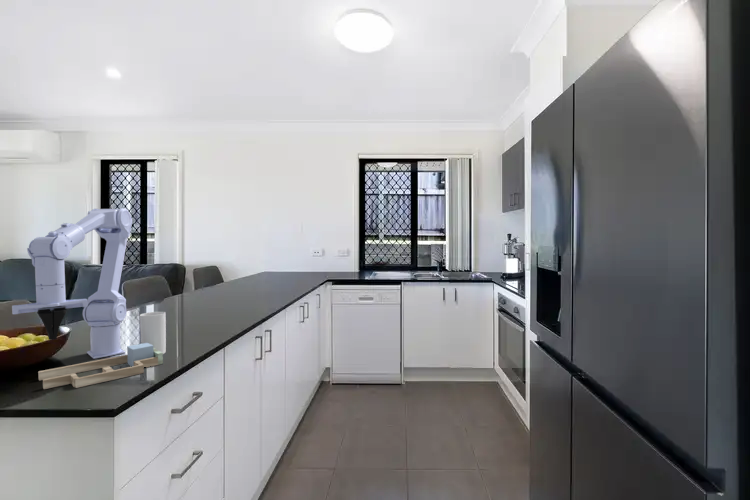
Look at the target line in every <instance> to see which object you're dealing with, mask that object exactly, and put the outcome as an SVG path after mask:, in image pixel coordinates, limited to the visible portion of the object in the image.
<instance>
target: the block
mask: <svg viewBox="0 0 750 500" xmlns="http://www.w3.org/2000/svg"><path fill="white" fill-rule="evenodd" d="M126 347H127V349H126V350H127V354H126V355H128V363H127V365H128V366H129V367H131V366H134V361H137V360H142V359H147V358H152V357H154V349H153V345H151V344H149V343H143V344H141V343H139V344H133V345H132V344H131V345H127V346H126Z"/></svg>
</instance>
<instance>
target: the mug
mask: <svg viewBox="0 0 750 500" xmlns="http://www.w3.org/2000/svg"><path fill="white" fill-rule="evenodd" d="M166 319H167V318H166V311H150V312H145V313H144V312H143V313H141V314H139V326H140V327H139V329H140V342H141V343H140V344H143V343H149V344H151V345H153V348H155V349H156V350H158V351H160V352H162V353H163V355H165V353H166V352H167V351H166V350H167V349H166V348H167V345H166V344H167V339H166V338H167V332H166V331H167V329H166V328H167V325H166V324H167V320H166Z"/></svg>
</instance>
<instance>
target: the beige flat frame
mask: <svg viewBox="0 0 750 500" xmlns="http://www.w3.org/2000/svg"><path fill="white" fill-rule="evenodd" d="M153 349H154V357H152V358H147V359H142V360H137V361H134V366H132V367H131V366H127V367H123V368H118V369H113V368H112V367H113V366H118V365H122V364H123V365H124V364H128V355H127V354H122V355H118V356H114V357H107V358H101V359H97V360H96V359H95V360H90V361H87V362H86V361H85V362H81V363H75V364H72V365H71V364H70V365H66V366H59V367H54V368H49V369H45V370H39V371H38V372H37V373H38V381H42V388H43V390H47V389H48V390H49V389H51V388H57V387H61V386H66V385H69V384H70V385H71V386H72V387H73V388H76V389H78V388H82V387H86V386H87V387H88V386H91V385H95V384H100V383H104V382H108V381H110V382H111V381H114V380H118V379H123V378H126V377H127V378H128V377H132V376H136V375H141V374H145V373H144V370H145V368H144V367H146V368H149V367H150V366H151V367H154V366H159V365H162V364H164V356H163V355H164V354H163V353H162V352H160V351H158V350H156V349H155V348H153ZM98 369H101V370H102V371H101V372H99V373H95V374H90V375H84V376H80V377H79V376H78V375H77V374H79V373H83V372H89V371H94V370H98Z"/></svg>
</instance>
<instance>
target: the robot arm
mask: <svg viewBox="0 0 750 500" xmlns="http://www.w3.org/2000/svg"><path fill="white" fill-rule="evenodd" d="M132 225H133V218H132V216H131V212H129V210H128V209H127V208H125V207H121V208H93V209H91V210H89V211H87V215H86V216H84V217H83V218H81V219H80V220H79V221H77V222H76V223H70V222H65V223H64V222H63V223H62V224H60V226H61V227H59V228H57V229H55V230H53V231H52V230H51V231H49V232H48V233H47V235H45V236H37V237H35V238H34V239H32V240H31V241H30V242H29V245H28V247H27V248H26V250H27V255H28V256H29V257H30V259H31V265H32V266H33V267H34V274H35V278H34V279H35V280H34V281H35V297H36V298H35V299H36V302H32V303H25V304H16V305H15V304H13V305H11V311H12V312H11V314H12V315H20V314H25V313H26V314H27V313H34V312H35V313H37V315H38V316H39V318H40V320H41V321H42V324H43V326H44V327H45V329H46V333H47V336H48V340H49V341H54V340H57V339H58V332H59V329H60V326H61V324H62V322H63V319H64V317H65V316H66V314H67V309H73V308H74V309H75V308H81V307H82V308H83V309H82V318H83V320H84V322H85V323H87V326H88V327H90V332H89V340H90V342H89V343H90V350H87V351H86V354H88V356H89V357H91V359H95V360H96V359H100V358H105V357H110V356H115V355H121V354H122V355H123V354H125V353H126V351H125V350H123V349H122V347H121V346H122V345H121V325H120V324H121V323H123V321H124V320H125V319H126V316H127V311H128V310H127V304H126V303H127V299H126V297H124V296H123V295H122V294H121V293H120V292H119V289H120V284H121V278H122V277H121V276H122V271H123V268H124V267H123V266H124V262H125V261H124V260H125V254H126V248H127V242H128V238H129V237H130V236H131V230H132ZM93 230H94V231H95V232H96V234H97V235H98V236H99V237H100V238H101V239H104V240H105V241H106V243H105V248H104V249H105V250H104V255H103V261H102V264H101V270H100V275H99V276H100V277H99V281H98V286H97V291H95V292H94V293H92V294H91V295H90V296H88V297H87V298H77V299H66V298H67V296H66V274H65V271H66V270H65V268H66V267H65V259H67V258H68V257H69V256H70V254H71V250H72V249H73V248H75V247H77V246H78V245H79V244H81V243H82V242H83V241H84V240H85V239H86V235H87V234H88V233H90V232H92V231H93Z"/></svg>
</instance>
